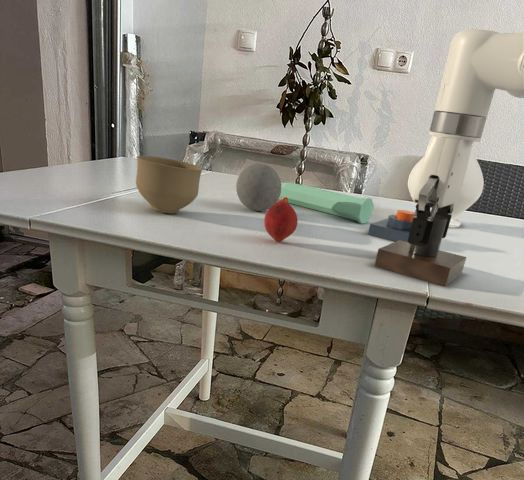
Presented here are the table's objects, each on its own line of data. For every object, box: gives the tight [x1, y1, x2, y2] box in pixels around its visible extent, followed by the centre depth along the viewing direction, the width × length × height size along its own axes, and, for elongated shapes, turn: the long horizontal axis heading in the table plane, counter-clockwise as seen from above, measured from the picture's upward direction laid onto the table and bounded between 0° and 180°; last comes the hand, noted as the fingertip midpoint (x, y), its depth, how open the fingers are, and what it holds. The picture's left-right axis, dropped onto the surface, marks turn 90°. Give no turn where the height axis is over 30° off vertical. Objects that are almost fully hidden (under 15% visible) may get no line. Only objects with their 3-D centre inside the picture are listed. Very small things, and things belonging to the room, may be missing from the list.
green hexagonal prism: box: [279, 181, 374, 224], centre depth 122 cm, size 6×6×25 cm
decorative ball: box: [235, 163, 282, 212], centre depth 112 cm, size 10×10×10 cm
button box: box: [367, 214, 412, 242], centre depth 106 cm, size 11×9×4 cm
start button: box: [395, 209, 415, 221], centre depth 105 cm, size 4×4×2 cm
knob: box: [409, 215, 447, 257], centre depth 83 cm, size 5×5×6 cm
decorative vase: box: [407, 141, 485, 228], centre depth 123 cm, size 18×18×25 cm
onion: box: [264, 197, 299, 243], centre depth 89 cm, size 6×6×8 cm
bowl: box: [135, 155, 203, 215], centre depth 100 cm, size 13×13×10 cm
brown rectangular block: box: [374, 240, 467, 287], centre depth 85 cm, size 12×10×3 cm
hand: (426, 240), depth 83 cm, fingers open, 9 cm apart
